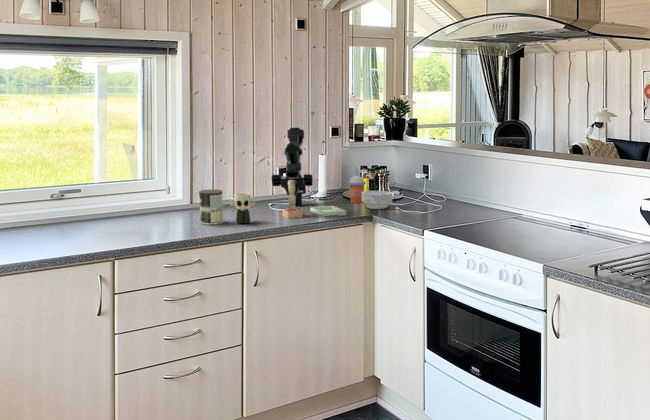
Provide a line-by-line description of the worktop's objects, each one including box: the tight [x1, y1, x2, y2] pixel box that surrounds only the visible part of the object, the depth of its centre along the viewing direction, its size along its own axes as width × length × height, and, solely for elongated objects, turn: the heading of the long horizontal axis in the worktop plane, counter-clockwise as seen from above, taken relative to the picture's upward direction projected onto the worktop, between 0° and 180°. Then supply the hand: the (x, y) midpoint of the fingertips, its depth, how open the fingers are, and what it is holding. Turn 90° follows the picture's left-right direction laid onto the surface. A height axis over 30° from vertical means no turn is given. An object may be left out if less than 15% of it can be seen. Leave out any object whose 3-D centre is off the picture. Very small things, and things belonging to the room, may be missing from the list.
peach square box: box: [281, 208, 303, 219], centre depth 290 cm, size 7×7×4 cm
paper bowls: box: [361, 190, 393, 210], centre depth 313 cm, size 15×15×8 cm
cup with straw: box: [347, 167, 366, 204], centre depth 330 cm, size 9×9×18 cm
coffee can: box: [198, 189, 225, 226], centre depth 280 cm, size 10×10×14 cm
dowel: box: [287, 180, 297, 209], centre depth 288 cm, size 3×3×13 cm
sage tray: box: [309, 205, 347, 217], centre depth 300 cm, size 16×12×2 cm
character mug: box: [229, 192, 256, 224], centre depth 278 cm, size 11×7×13 cm, turn 98°
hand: (291, 194), depth 287 cm, fingers closed on dowel, 3 cm apart
